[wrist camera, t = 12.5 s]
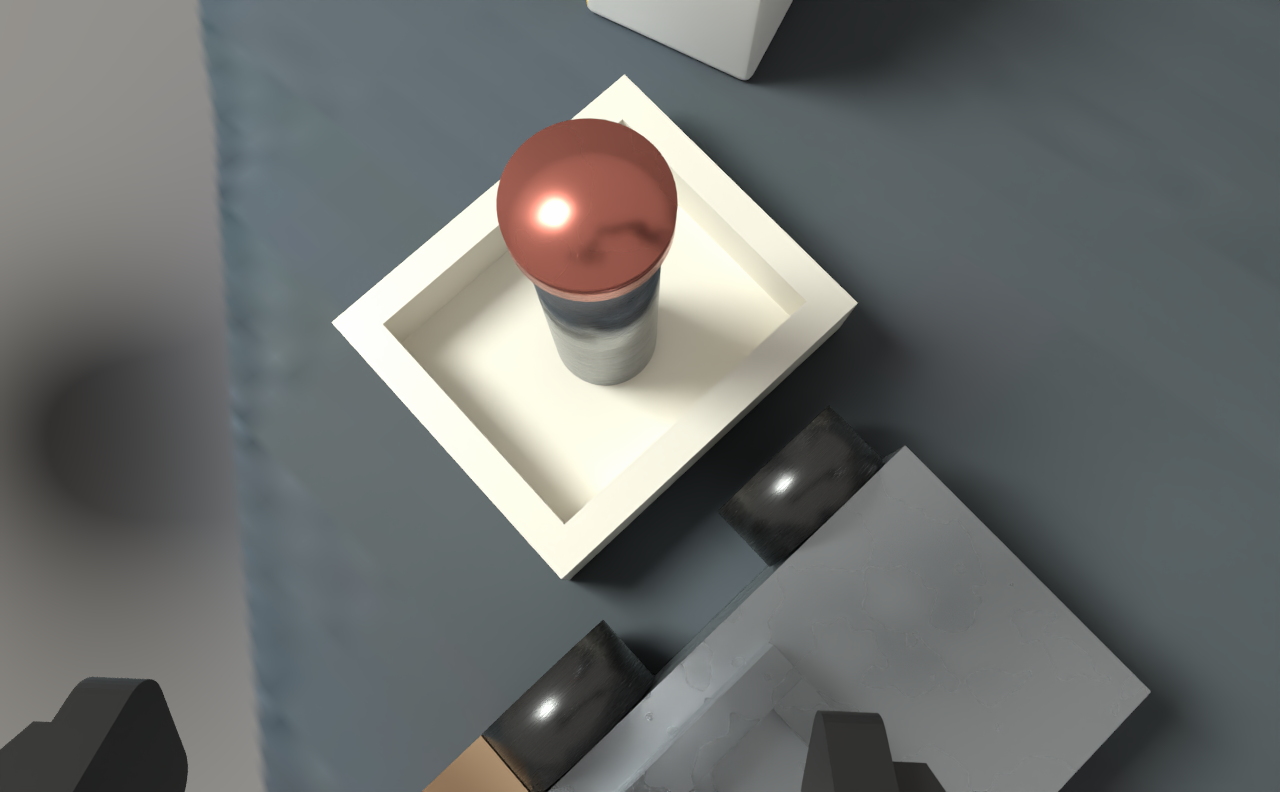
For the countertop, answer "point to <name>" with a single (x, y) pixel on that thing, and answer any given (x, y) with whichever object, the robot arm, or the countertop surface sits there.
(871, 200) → the countertop surface
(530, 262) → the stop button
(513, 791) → the block
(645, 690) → the trolley
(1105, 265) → the countertop surface
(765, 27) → the medicine bottle
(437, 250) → the tray
